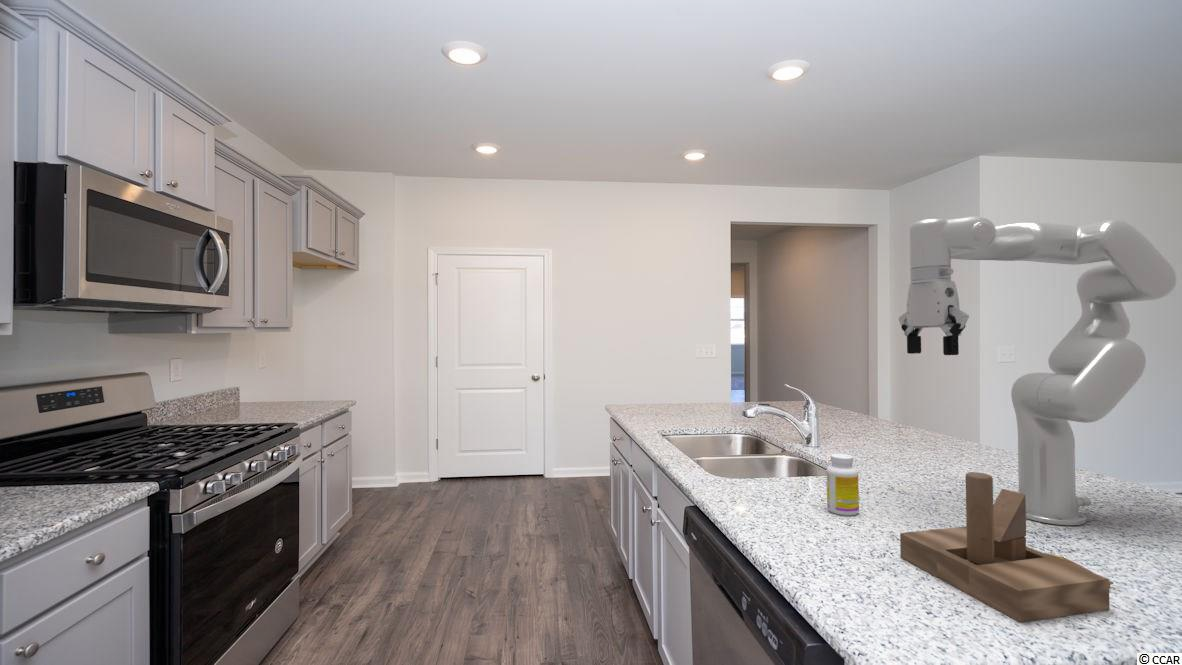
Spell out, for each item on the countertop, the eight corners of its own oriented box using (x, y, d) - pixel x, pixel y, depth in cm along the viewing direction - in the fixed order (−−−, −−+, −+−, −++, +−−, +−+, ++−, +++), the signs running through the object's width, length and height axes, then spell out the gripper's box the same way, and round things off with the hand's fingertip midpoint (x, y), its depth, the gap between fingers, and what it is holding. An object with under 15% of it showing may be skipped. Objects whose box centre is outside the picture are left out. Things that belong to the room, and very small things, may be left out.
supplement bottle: (866, 514, 118) (864, 457, 118) (843, 518, 116) (842, 460, 116) (842, 505, 125) (841, 451, 125) (820, 508, 122) (819, 454, 122)
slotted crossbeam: (974, 549, 99) (973, 525, 99) (1109, 609, 77) (1109, 578, 77) (900, 557, 96) (900, 533, 96) (1020, 622, 74) (1019, 590, 74)
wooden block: (1027, 579, 87) (1025, 471, 87) (985, 592, 83) (983, 478, 83) (1003, 570, 90) (1001, 466, 90) (961, 582, 86) (959, 473, 86)
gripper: (981, 271, 107) (982, 355, 107) (913, 280, 124) (915, 352, 124) (949, 271, 105) (951, 356, 105) (886, 280, 122) (887, 353, 122)
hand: (931, 354), depth 114 cm, fingers open, 9 cm apart
